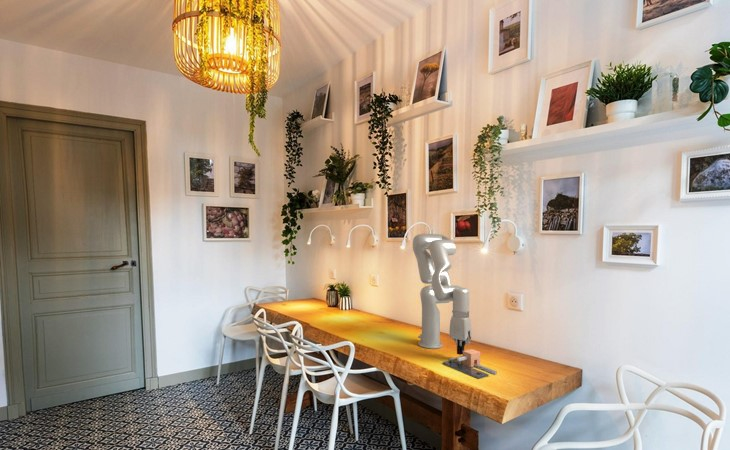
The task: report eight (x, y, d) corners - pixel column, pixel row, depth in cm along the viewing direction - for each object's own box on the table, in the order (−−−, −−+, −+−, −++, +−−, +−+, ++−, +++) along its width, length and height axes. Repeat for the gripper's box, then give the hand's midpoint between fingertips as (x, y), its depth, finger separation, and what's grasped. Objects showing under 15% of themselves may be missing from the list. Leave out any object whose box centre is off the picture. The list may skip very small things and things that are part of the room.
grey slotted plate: (446, 362, 173) (446, 358, 174) (460, 359, 178) (460, 355, 178) (482, 377, 156) (482, 372, 156) (497, 374, 160) (497, 368, 160)
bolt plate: (442, 363, 172) (442, 361, 172) (452, 361, 175) (452, 359, 175) (478, 378, 154) (478, 376, 154) (488, 376, 157) (488, 374, 158)
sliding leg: (453, 365, 169) (453, 352, 169) (471, 361, 175) (471, 349, 175) (462, 369, 165) (462, 355, 165) (480, 365, 171) (480, 352, 171)
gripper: (443, 312, 182) (443, 350, 181) (467, 318, 169) (466, 359, 169) (455, 310, 186) (454, 348, 185) (478, 316, 173) (478, 357, 173)
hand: (460, 353), depth 177 cm, fingers closed
